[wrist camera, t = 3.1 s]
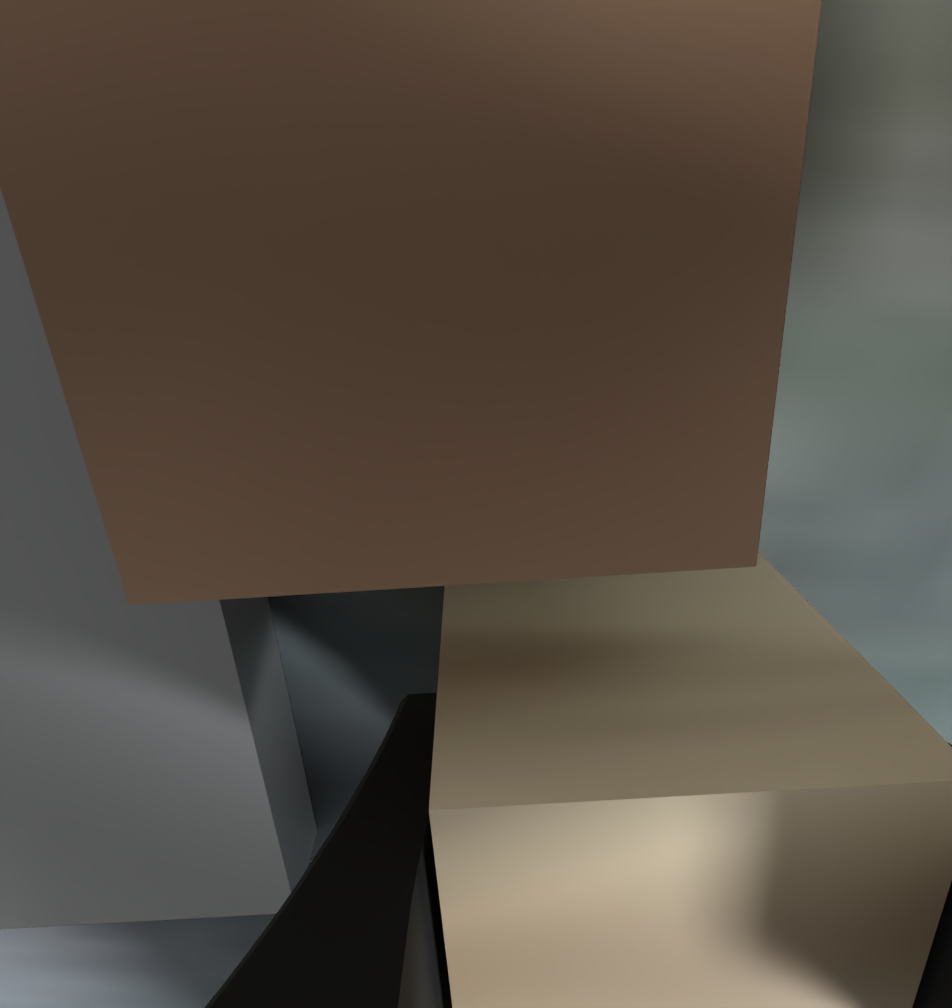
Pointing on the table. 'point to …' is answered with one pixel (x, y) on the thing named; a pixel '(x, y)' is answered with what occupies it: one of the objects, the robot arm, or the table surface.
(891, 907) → the maple block
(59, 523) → the plate
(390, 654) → the table surface
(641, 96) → the walnut block
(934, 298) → the table surface
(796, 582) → the table surface
